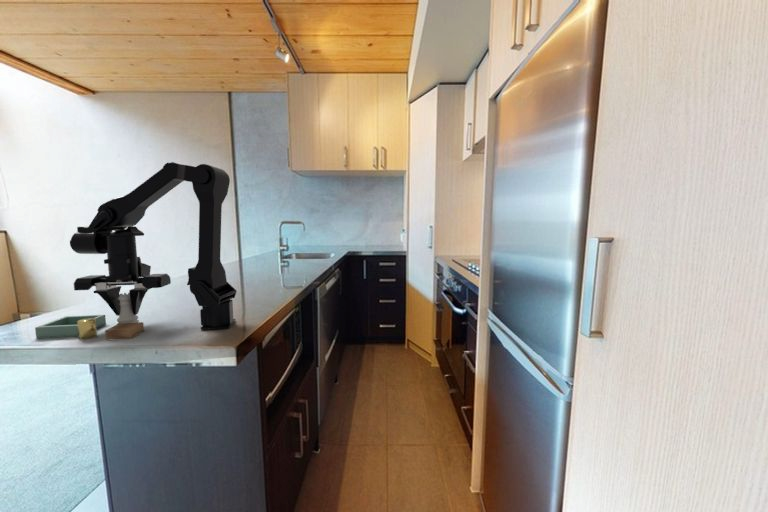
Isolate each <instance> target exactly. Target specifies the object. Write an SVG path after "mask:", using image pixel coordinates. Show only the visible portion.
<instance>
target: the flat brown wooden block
mask: <svg viewBox="0 0 768 512" xmlns="http://www.w3.org/2000/svg"><path fill="white" fill-rule="evenodd" d="M118 323H119V322H118ZM144 332H145V327H144V321H143V322H138V323H119V324H117V323H116V325H114V326H110V327H109V328H107V329H105V330H104V333H105V340H106V339H114V340H129V339H130V340H131V339H133V338H135V337H136V336H138V335H140V334H142V333H144Z"/></svg>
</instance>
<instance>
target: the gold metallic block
mask: <svg viewBox="0 0 768 512" xmlns="http://www.w3.org/2000/svg"><path fill="white" fill-rule="evenodd" d="M77 323H78V333H79V336H78V340H80V339H85V340H90V338H91V339H94V338H97V337H98V330H97V329H98V328H97V329H96V319H95V318H88V319H82V320H79V321H77Z"/></svg>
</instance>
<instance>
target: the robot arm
mask: <svg viewBox="0 0 768 512" xmlns="http://www.w3.org/2000/svg"><path fill="white" fill-rule="evenodd" d="M185 181H186V182H190V183H191V184H192V189H193V192H194V195H195V196H196V198H197V200H198V204H199V205H198V206H199V211H198V213H199V214H198V257H197V263H196V265H195V266H193V267H190V268H188V269H187V278H188V281H187V282H186V286H189V291H190V293H191V294H193V296H194V297H195V298H194V299H195V300H196V302H197V305H198V306H199V307H202V308H201V309H200V310H199V311H200V312H199V314H200V316H199V317H200V325H201V327H200V330H201V331H203V330H204V331H206V330H207V331H208V330H220V329H222V330H223V329H230V328H231V326H232V325H233V324H235V322H236V318H234V307H233V306H234V305H233V304H234V303H233V299H235V298H236V294H237V291H238V290H237V289H236V288H234V286H232V284H230V283H229V282H228V281H227V274H226V270H225V268H224V265H223V263H222V261H221V246H222V245H221V243H222V241H221V240H222V238H221V237H222V209H223V203H224V201H225V199H226V197H227V196H228V192H229V187H230V182H231V181H230V176H229V174H228V173H227V172H226V171H225V170H224V169H223V168H219V167H216V166H213V165H210V164H207V163H200V164H198V165H196V166H192V165H188V164H187V165H186V164H183V163H181V164H180V163H177V162H174V161H169V162H166V163H165V164H164V165H163V166H162V168H161V169H160V170H158V171H156V172H155V173H154V174H153V175H151V176H150V177H149V178H148V179H146V180H145V181H144V182H142V183H141V184H139V185H138V186H137V187H136V188H134V189H133V190H131V191H130V192H129V193H127V194H126V195H122V196H119V197H116V198H111V199H110V200H108V201H106V202H104V203H102V204H100V206H99V207H98V208H97V213H96V215H95V216H94V217H93V219H92V221H91V222H90V224H89V225H88V226H77V228H76V229H77V230H76V232H74V233H73V235H72V236H71V238H70V240H69V245H70V248H71V249H72V251H74V252H75V253H77V254H80V255H83V254H84V255H92V254H93V255H105V254H106V255H107V256H106V257H107V259H105V258H104V259H103V263H104V265H106V264H107V269H108V275H106V274H96V275H95V274H94V275H93V274H90V275H86V276H81V277H77V278H76V279H75V280H74V282H73V290H74V291H89V290H90V289H92V288H93V287H95V290H93V293H94V294H98V295H99V296H100V297H101V299H103V300H104V301H105V303H106V304H107V305H108V306H109V308H110V309H111V310H112V312H113V313H114V314H115V316H117V317H119V315H120V309H121V306H120V305H119V304H120V300H119V299H118V297H119V294H120V292H121V288H122V286H134V288H132V289H129V292H128V293H130V299H131V305H132V311H133V314H134V315H138V313H139V311H140V309H141V306H142V303H143V301H144V297H145V296H146V294H147V292H148V291H149V290H150V289H151V290H152V289H158V288H159V289H160V288H163V287H166V286H168V285H170V284H171V283H172V281H171V276H170V275H169V274H168V273H151V271H152V270H151V269H152V266H151V265H148V264H147V263H143V262H142V259H141V256H138V254H137V253H138V251H137V241H136V237H142V236H143V237H144V235H145V233H144V232H143V231H142V230H140V229H139V228H138V227H137V226H136V225H137V224H138V223H139V222H140V221H141V220H142V219H143V218H144V217H145V214H146V210H147V209H149V208H150V207H151V206H152V205H154V204H155V202H157V201H159V200H160V199H161V198H163V197H164V196H165V195H167V194H168V193H169V192H171V190H173V189H175V188H176V187H177V186H179V185H180V184H181V183H182V182H185Z"/></svg>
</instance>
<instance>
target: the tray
mask: <svg viewBox="0 0 768 512" xmlns="http://www.w3.org/2000/svg"><path fill="white" fill-rule="evenodd" d="M88 318H95V319H96V329H99V328H101V327H102V326H105V325H107V320H106V314H91V315H90V314H87V315H86V314H85V315H67V316H62V317H60V318H57V319H55V320H52V321H49V322H47V323H44V324H42V325H38V326H35V327H34V329H35V338H36V339H47V338H48V339H50V338H51V339H52V338H68V337H70V338H71V337H79V333H78V323H77V321H79V320H82V319H88Z"/></svg>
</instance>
